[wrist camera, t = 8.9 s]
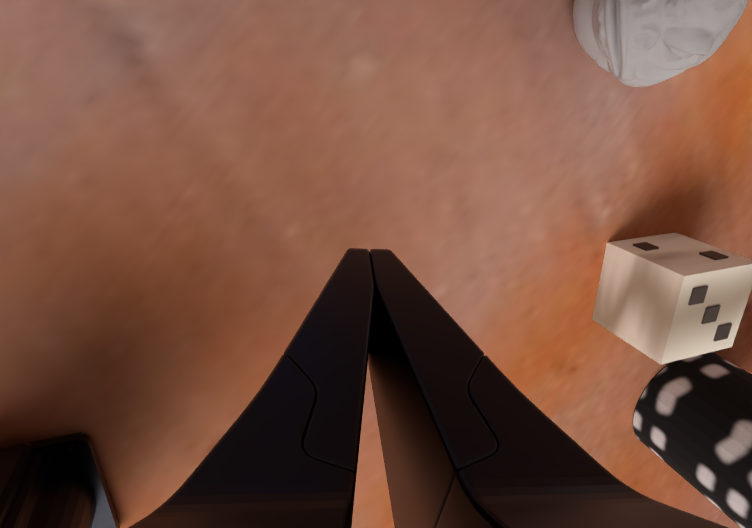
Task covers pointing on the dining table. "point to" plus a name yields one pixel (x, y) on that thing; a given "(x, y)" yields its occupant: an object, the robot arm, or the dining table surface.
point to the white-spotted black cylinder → (703, 429)
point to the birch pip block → (672, 295)
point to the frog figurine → (652, 35)
